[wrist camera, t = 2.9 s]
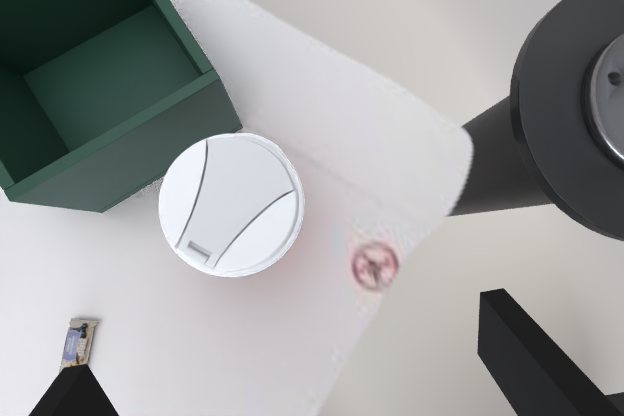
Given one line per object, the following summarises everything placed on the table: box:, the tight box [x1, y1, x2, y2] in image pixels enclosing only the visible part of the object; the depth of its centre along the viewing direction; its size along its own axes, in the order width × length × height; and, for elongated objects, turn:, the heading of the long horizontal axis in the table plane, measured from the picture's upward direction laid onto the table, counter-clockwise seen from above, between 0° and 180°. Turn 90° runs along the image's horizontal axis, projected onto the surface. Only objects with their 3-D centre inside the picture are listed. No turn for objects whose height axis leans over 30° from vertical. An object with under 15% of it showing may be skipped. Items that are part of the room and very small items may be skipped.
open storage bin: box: [0, 0, 242, 213], centre depth 26 cm, size 15×15×10 cm
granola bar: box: [59, 318, 98, 373], centre depth 28 cm, size 7×2×1 cm, turn 172°
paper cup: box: [159, 133, 305, 277], centre depth 24 cm, size 8×8×14 cm
